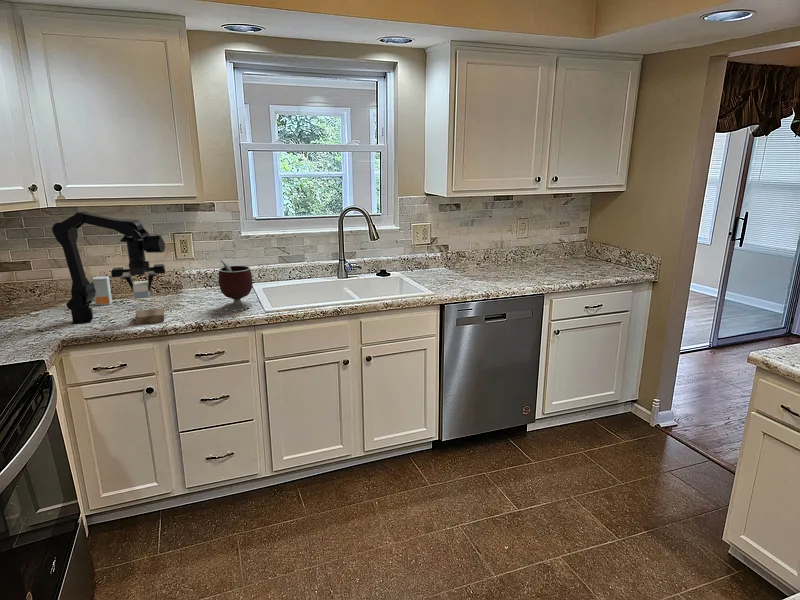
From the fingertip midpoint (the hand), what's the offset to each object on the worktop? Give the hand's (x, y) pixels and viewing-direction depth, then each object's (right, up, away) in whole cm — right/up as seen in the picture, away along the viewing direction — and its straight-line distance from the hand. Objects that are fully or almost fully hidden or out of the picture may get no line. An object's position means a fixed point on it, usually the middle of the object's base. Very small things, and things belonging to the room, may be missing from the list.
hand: (141, 291), depth 209 cm
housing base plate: (0, -1, 0) cm, 2 cm away
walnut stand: (+2, -11, +4) cm, 12 cm away
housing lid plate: (0, +1, 0) cm, 1 cm away
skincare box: (-29, -5, +26) cm, 40 cm away
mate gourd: (+30, -6, +23) cm, 39 cm away
